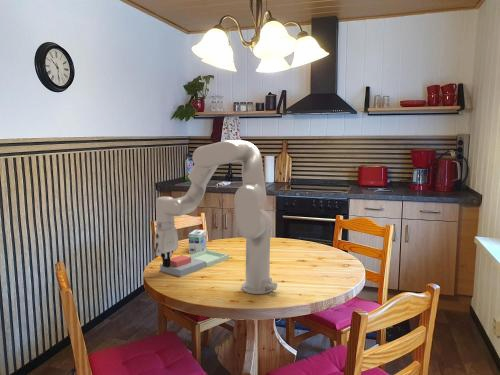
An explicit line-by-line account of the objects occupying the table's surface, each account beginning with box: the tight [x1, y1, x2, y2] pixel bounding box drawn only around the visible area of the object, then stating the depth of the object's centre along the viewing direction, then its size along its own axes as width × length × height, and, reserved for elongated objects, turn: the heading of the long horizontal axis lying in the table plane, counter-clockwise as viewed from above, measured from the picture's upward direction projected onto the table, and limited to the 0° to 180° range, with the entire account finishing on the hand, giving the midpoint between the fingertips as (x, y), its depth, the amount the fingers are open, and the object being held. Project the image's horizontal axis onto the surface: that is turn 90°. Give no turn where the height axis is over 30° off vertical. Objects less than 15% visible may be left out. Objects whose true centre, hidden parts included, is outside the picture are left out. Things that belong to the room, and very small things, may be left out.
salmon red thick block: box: [170, 254, 191, 268], centre depth 176 cm, size 6×9×2 cm, turn 144°
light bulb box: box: [188, 228, 208, 255], centre depth 205 cm, size 11×7×11 cm, turn 168°
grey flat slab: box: [159, 258, 207, 278], centre depth 177 cm, size 13×16×3 cm
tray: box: [186, 249, 230, 268], centre depth 191 cm, size 15×16×2 cm
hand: (166, 266), depth 169 cm, fingers closed
